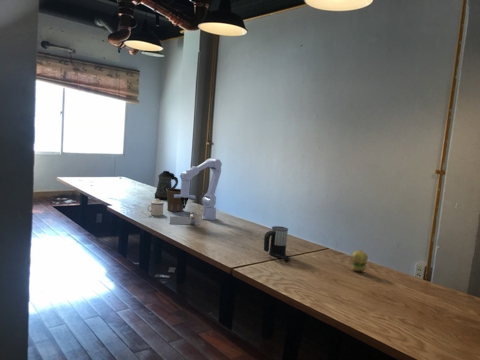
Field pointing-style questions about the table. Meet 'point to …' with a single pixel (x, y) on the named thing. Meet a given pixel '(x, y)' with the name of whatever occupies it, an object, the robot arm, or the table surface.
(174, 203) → the plant pot
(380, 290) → the table surface
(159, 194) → the beer stein
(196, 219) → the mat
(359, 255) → the hamburger
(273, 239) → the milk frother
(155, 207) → the teacup with lid
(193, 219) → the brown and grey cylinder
